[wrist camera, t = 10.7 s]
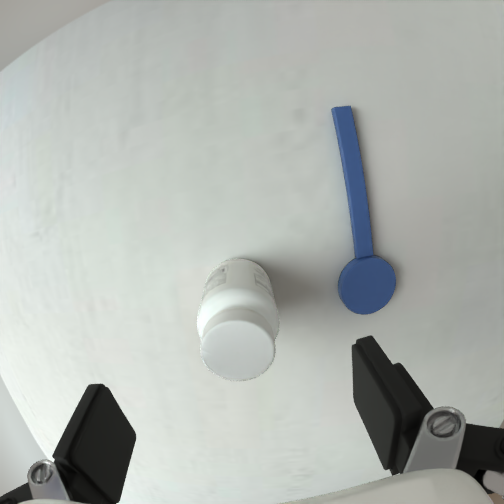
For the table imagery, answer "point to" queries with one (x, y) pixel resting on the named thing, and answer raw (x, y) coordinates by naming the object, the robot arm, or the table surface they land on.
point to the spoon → (360, 230)
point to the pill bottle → (238, 321)
